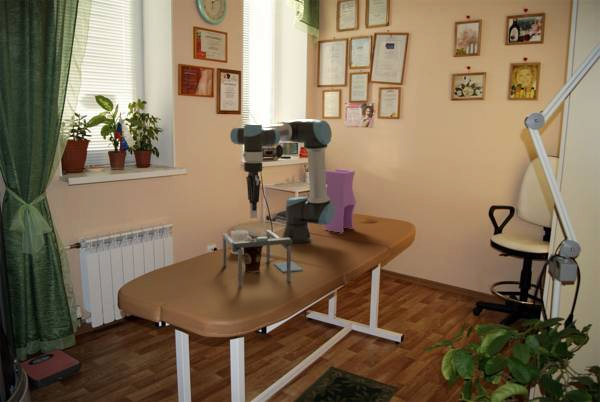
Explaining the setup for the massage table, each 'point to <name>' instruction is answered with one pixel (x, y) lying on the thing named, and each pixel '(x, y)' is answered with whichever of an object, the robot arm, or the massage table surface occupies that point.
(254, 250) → the coffee cup
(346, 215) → the purple arched stand
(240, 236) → the mug
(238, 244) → the bar
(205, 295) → the massage table surface
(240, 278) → the frame
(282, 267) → the mat
